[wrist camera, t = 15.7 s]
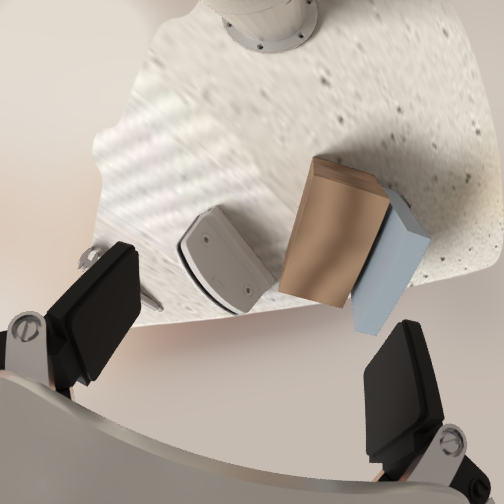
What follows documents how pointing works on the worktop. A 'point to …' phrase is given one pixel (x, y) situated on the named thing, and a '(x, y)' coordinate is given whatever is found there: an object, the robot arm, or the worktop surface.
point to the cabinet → (332, 232)
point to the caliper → (88, 263)
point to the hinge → (222, 264)
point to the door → (388, 266)
